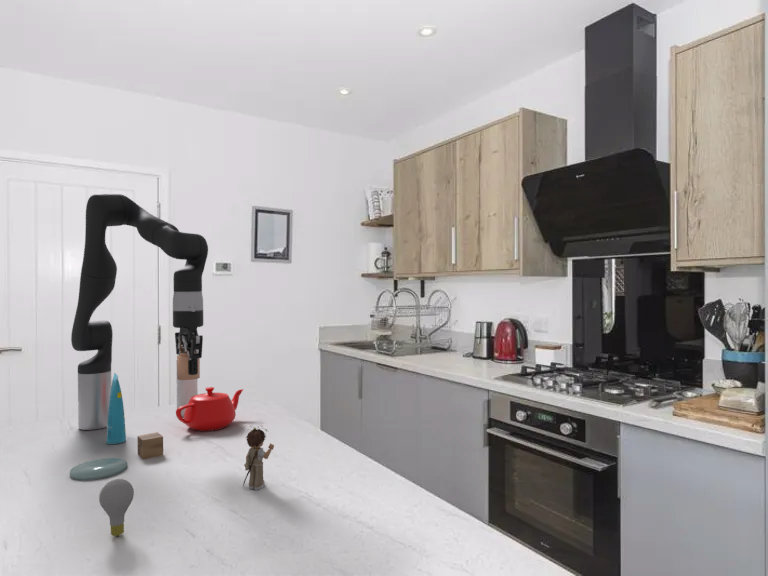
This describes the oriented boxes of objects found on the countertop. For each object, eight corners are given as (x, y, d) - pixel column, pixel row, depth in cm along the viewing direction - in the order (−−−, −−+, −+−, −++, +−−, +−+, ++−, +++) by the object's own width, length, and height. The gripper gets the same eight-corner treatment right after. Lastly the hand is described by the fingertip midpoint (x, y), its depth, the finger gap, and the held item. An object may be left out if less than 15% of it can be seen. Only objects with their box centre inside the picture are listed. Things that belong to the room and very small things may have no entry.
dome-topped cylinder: (174, 377, 135) (173, 353, 135) (195, 375, 139) (195, 351, 139) (181, 380, 131) (181, 355, 131) (203, 378, 135) (202, 353, 135)
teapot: (192, 440, 147) (192, 397, 147) (161, 431, 156) (161, 391, 156) (259, 420, 168) (259, 383, 168) (228, 413, 177) (228, 378, 176)
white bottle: (172, 416, 173) (172, 342, 173) (183, 411, 179) (183, 340, 179) (191, 417, 172) (190, 342, 171) (201, 412, 178) (200, 340, 178)
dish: (65, 469, 124) (65, 465, 124) (120, 458, 132) (119, 454, 132) (75, 484, 115) (75, 480, 115) (133, 471, 123) (133, 467, 123)
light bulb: (108, 529, 94) (107, 474, 94) (139, 527, 94) (138, 473, 94) (93, 544, 88) (93, 486, 88) (126, 542, 89) (126, 485, 89)
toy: (275, 483, 115) (275, 416, 114) (262, 492, 109) (261, 423, 109) (251, 480, 117) (251, 414, 117) (237, 489, 111) (236, 421, 111)
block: (137, 454, 135) (137, 435, 135) (157, 450, 138) (157, 432, 138) (142, 459, 131) (142, 440, 131) (163, 455, 134) (163, 436, 134)
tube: (128, 443, 144) (128, 375, 144) (109, 446, 141) (108, 377, 141) (122, 437, 150) (121, 371, 150) (103, 440, 147) (103, 373, 147)
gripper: (164, 308, 138) (165, 371, 138) (183, 310, 127) (184, 378, 127) (192, 307, 143) (193, 368, 143) (212, 309, 132) (213, 374, 132)
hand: (188, 372), depth 135 cm, fingers closed on dome-topped cylinder, 5 cm apart
